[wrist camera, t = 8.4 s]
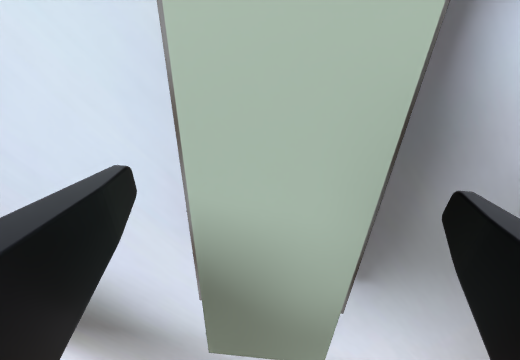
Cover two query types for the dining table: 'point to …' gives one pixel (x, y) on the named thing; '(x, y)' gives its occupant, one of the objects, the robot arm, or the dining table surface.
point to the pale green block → (288, 153)
